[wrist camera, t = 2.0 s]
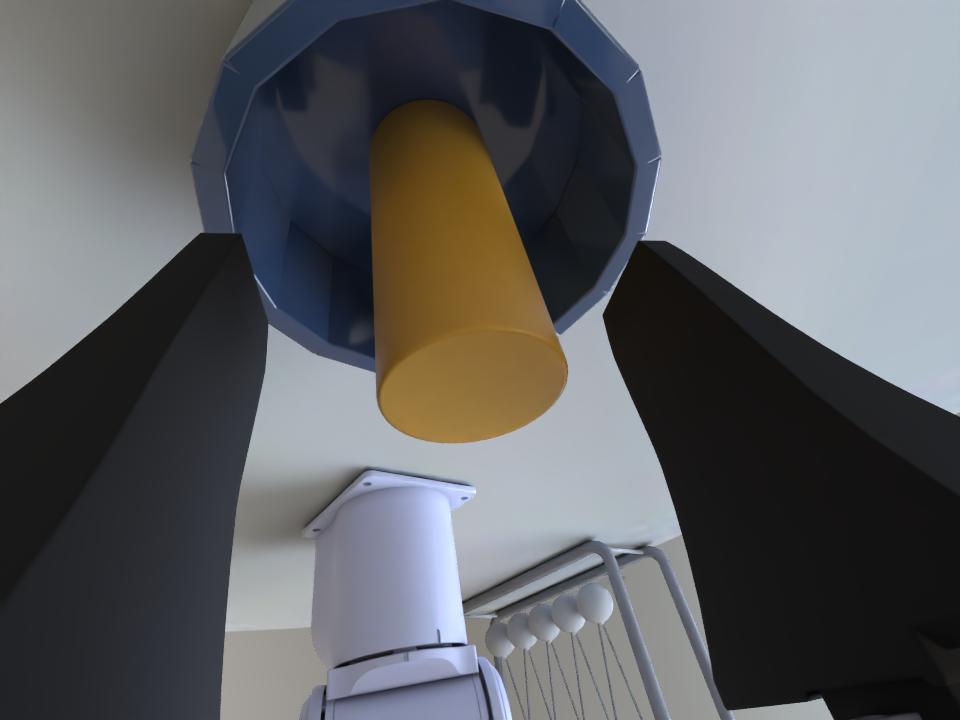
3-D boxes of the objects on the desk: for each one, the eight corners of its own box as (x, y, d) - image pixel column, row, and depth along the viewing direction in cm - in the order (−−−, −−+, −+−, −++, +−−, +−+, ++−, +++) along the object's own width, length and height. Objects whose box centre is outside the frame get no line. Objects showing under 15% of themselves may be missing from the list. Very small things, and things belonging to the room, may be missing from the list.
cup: (579, 244, 16) (626, 337, 13) (325, 297, 16) (318, 403, 13) (618, -393, 7) (802, -533, 4) (19, -276, 7) (-225, -335, 4)
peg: (443, 229, 13) (489, 456, 9) (348, 177, 12) (341, 423, 7) (508, 144, 12) (608, 367, 7) (409, 69, 10) (453, 297, 5)
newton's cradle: (491, 615, 65) (518, 780, 54) (430, 617, 60) (447, 803, 48) (662, 539, 49) (752, 754, 38) (602, 532, 43) (686, 783, 32)
